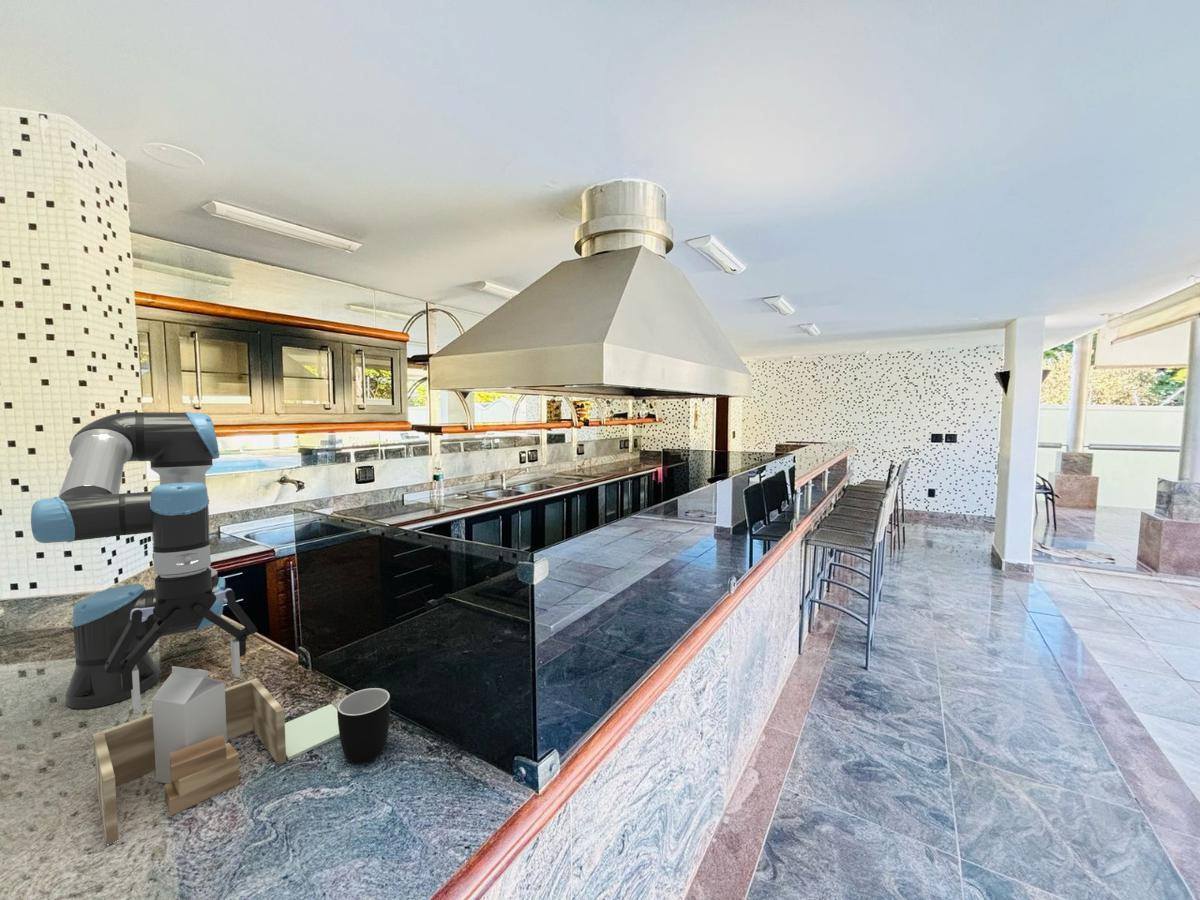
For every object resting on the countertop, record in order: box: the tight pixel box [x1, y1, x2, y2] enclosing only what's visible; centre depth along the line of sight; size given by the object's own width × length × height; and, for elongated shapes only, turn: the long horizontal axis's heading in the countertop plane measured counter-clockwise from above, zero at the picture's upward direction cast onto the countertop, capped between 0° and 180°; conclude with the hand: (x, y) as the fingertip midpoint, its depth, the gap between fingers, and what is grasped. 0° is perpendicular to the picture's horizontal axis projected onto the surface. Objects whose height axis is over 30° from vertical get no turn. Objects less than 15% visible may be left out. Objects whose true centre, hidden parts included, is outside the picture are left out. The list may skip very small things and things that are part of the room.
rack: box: [92, 677, 287, 845], centre depth 85 cm, size 17×23×10 cm
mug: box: [336, 687, 391, 764], centre depth 92 cm, size 12×9×10 cm
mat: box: [285, 703, 340, 761], centre depth 98 cm, size 12×12×1 cm
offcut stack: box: [163, 734, 240, 817], centre depth 82 cm, size 6×9×8 cm, turn 140°
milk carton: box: [151, 665, 228, 785], centre depth 86 cm, size 7×7×19 cm
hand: (189, 689), depth 85 cm, fingers open, 13 cm apart
